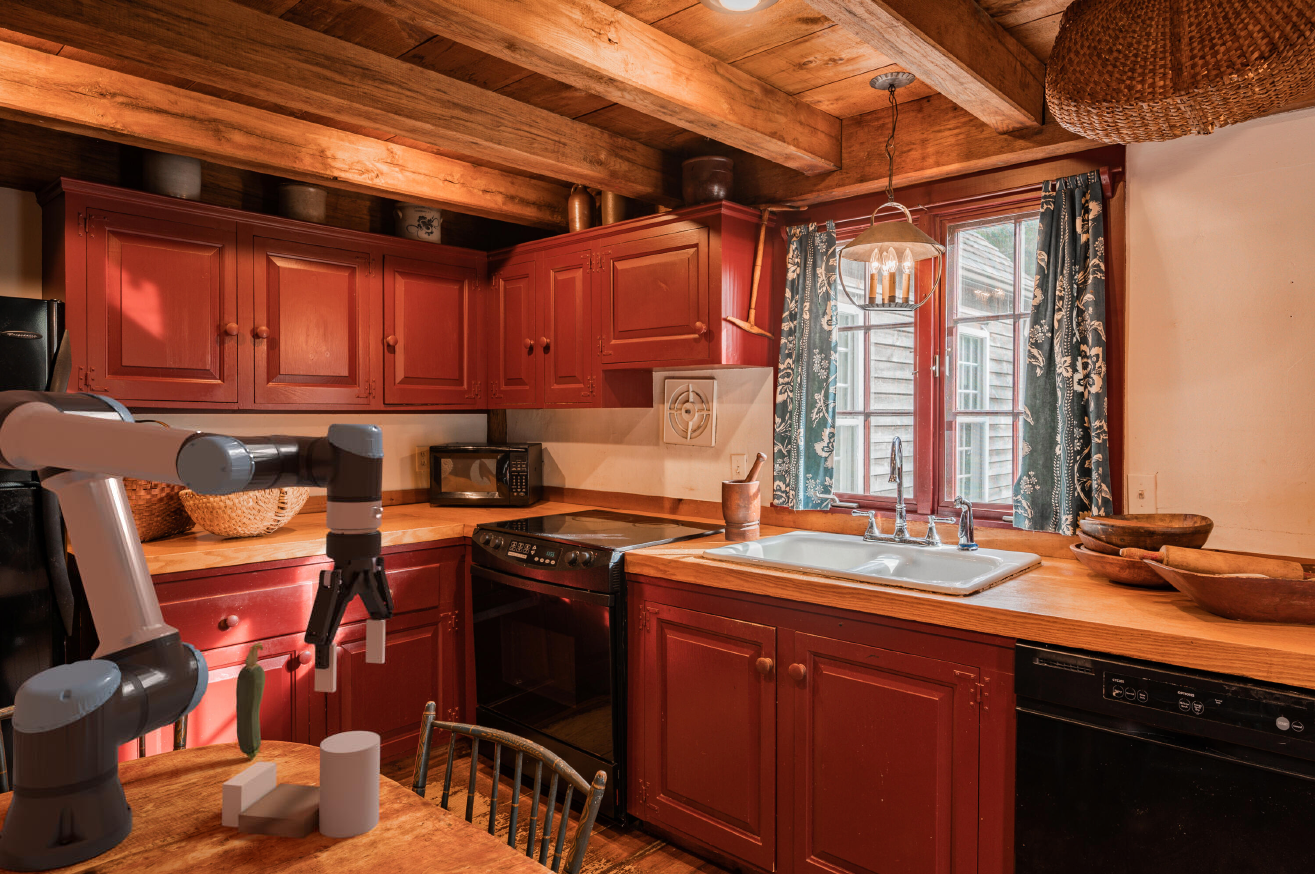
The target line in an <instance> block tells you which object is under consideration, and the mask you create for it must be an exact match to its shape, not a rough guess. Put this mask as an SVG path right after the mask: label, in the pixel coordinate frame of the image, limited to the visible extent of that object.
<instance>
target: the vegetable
mask: <svg viewBox="0 0 1315 874" xmlns="http://www.w3.org/2000/svg"><path fill="white" fill-rule="evenodd" d="M263 649H264V646H263V643H261V642H260V641H258V642H257V643H254V644H253V645H252V646H251V647H250V649H249V652H248V654H247V656H246V657H245V661H244V663H245V666H243V667H242V668H241V669H240V671H239V673H238V675H237V679H236V689H235V693H236V694H235V697H236V705H235V709H236V710H235V711H236V714H235V715H236V736H237V737H236V738H237V742H238V745H239V746H238V747H239V749H240V751H241V752H242V753H243V754H245V755H246V756H247V758H248V759H250V760H252V761H253V759H254V758H255V757H257V754H259V753H260V747H261V743H262V740H261V739H262V738H261V724H260V723H261V722H260V707H261V704H262V703H261V702H262V700H263V696H264V695H263V694H264V690H265V685H266V684H265V682H266V674H265V670H264V668H263V667H262V666H261V665H260V664H259V663H258V662H259V660H258V658H259V657H258V656H259V654H258V653H259V651H263ZM258 650H259V651H258Z"/></svg>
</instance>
